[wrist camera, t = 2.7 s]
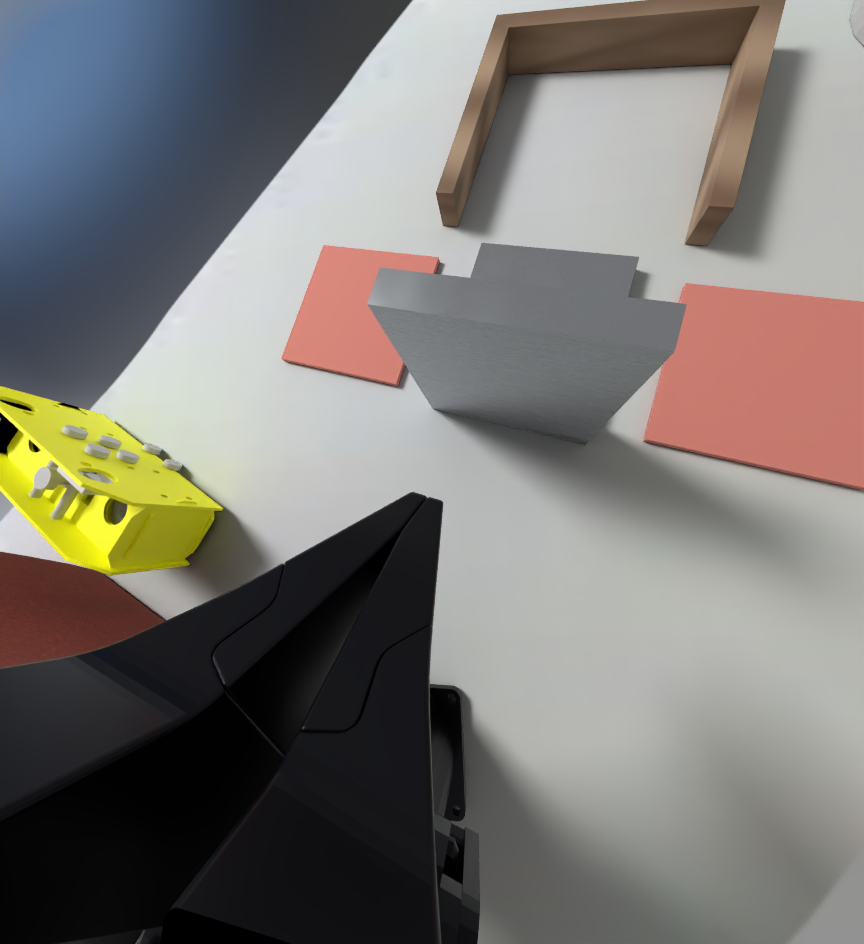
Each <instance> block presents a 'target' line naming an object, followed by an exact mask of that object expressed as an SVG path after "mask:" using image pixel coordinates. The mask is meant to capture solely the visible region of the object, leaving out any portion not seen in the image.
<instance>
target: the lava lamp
mask: <svg viewBox="0 0 864 944" xmlns="http://www.w3.org/2000/svg"><path fill="white" fill-rule="evenodd" d="M850 21H851V25H852V29H853V33H854V36H855V37H856V38H857V39H858V40H859V41H860V42H861V44H862V45H863V46H864V0H855V1H854V4H853V8H852V12H851V17H850Z"/></svg>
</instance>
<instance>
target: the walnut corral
mask: <svg viewBox="0 0 864 944" xmlns="http://www.w3.org/2000/svg"><path fill="white" fill-rule="evenodd" d="M785 1H786V0H646V1H635V2H625V3H615V4H605V5H595V6H585V7H574V8H564V9H554V10H544V11H534V12H523V13H513V14H503V15H497V16H496V19H495V22H494V25H493V28H492V31H491V34H490V37H489V40H488V43H487V45H486V48H485V51H484V54H483V57H482V60H481V63H480V66H479V69H478V72H477V75H476V77H475V80H474V83H473V86H472V89H471V92H470V95H469V98H468V101H467V104H466V107H465V110H464V112H463V115H462V118H461V121H460V124H459V127H458V130H457V133H456V136H455V139H454V142H453V144H452V147H451V150H450V153H449V156H448V159H447V162H446V165H445V168H444V171H443V174H442V177H441V179H440V182H439V185H438V188H437V191H436V195H437V200H438V205H439V209H440V214H441V219H442V223H443V225H445V226H458V225H459V222H460V219H461V216H462V213H463V210H464V207H465V204H466V201H467V198H468V195H469V192H470V189H471V186H472V183H473V180H474V177H475V174H476V171H477V168H478V165H479V162H480V159H481V156H482V153H483V150H484V147H485V144H486V141H487V138H488V135H489V132H490V129H491V126H492V123H493V120H494V117H495V114H496V111H497V108H498V105H499V102H500V99H501V96H502V93H503V90H504V87H505V84H506V81H507V78H508V75H511V74H531V73H551V72H572V71H592V70H613V69H633V68H653V67H674V66H694V65H715V64H732V65H731V69H730V73H729V77H728V80H727V84H726V88H725V92H724V96H723V100H722V103H721V107H720V111H719V115H718V119H717V123H716V126H715V130H714V134H713V138H712V142H711V146H710V149H709V153H708V157H707V161H706V165H705V169H704V172H703V176H702V180H701V184H700V188H699V192H698V195H697V199H696V203H695V207H694V211H693V215H692V218H691V222H690V226H689V230H688V234H687V238H686V241H685V244H692V245H705V246H707V245H708V243H709V242H710V240H711V239H712V238H713V236H714V235H715V233H716V232H717V231H718V229H719V228H720V226H721V225H722V224H723V222H724V221H725V219H726V218H727V217H728V215H729V214H730V212H731V211H732V210H733V208H734V206H735V202H736V198H737V194H738V190H739V186H740V182H741V178H742V174H743V170H744V166H745V162H746V158H747V154H748V150H749V145H750V141H751V137H752V133H753V129H754V125H755V121H756V117H757V113H758V109H759V105H760V101H761V97H762V93H763V89H764V85H765V81H766V77H767V73H768V69H769V65H770V61H771V57H772V53H773V49H774V45H775V41H776V37H777V33H778V29H779V25H780V21H781V17H782V13H783V9H784V5H785Z"/></svg>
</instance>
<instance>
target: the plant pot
mask: <svg viewBox="0 0 864 944" xmlns="http://www.w3.org/2000/svg"><path fill="white" fill-rule="evenodd" d="M162 622H164V620H163V619H161V618H160V617H159V616H157V615H156V614H155V613H153V612H152V611H151V610H149V609H148V608H147V607H146V606H144V605H143V604H142V603H140V602H139V601H138V600H136V599H135V598H134V597H132V596H131V595H130V594H128V593H127V592H125V591H124V590H123V589H122V588H120V587H119V586H118V585H117V584H115V583H114V582H112V581H111V580H110V579H108V578H107V577H106V576H105V575H103V574H102V573H101V572H99V571H96V570H93V569H88V568H84V567H80V566H76V565H71V564H66V563H61V562H56V561H50V560H45V559H40V558H34V557H29V556H23V555H17V554H11V553H5V552H0V668H3V667H9V666H15V665H21V664H27V663H33V662H39V661H44V660H50V659H56V658H62V657H68V656H73V655H77V654H81V653H85V652H89V651H93V650H96V649H99V648H103V647H106V646H108V645H111V644H114V643H117V642H119V641H122V640H124V639H127V638H129V637H131V636H134V635H136V634H138V633H140V632H142V631H145V630H147V629H149V628H151V627H153V626H156V625H158V624H160V623H162Z"/></svg>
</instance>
